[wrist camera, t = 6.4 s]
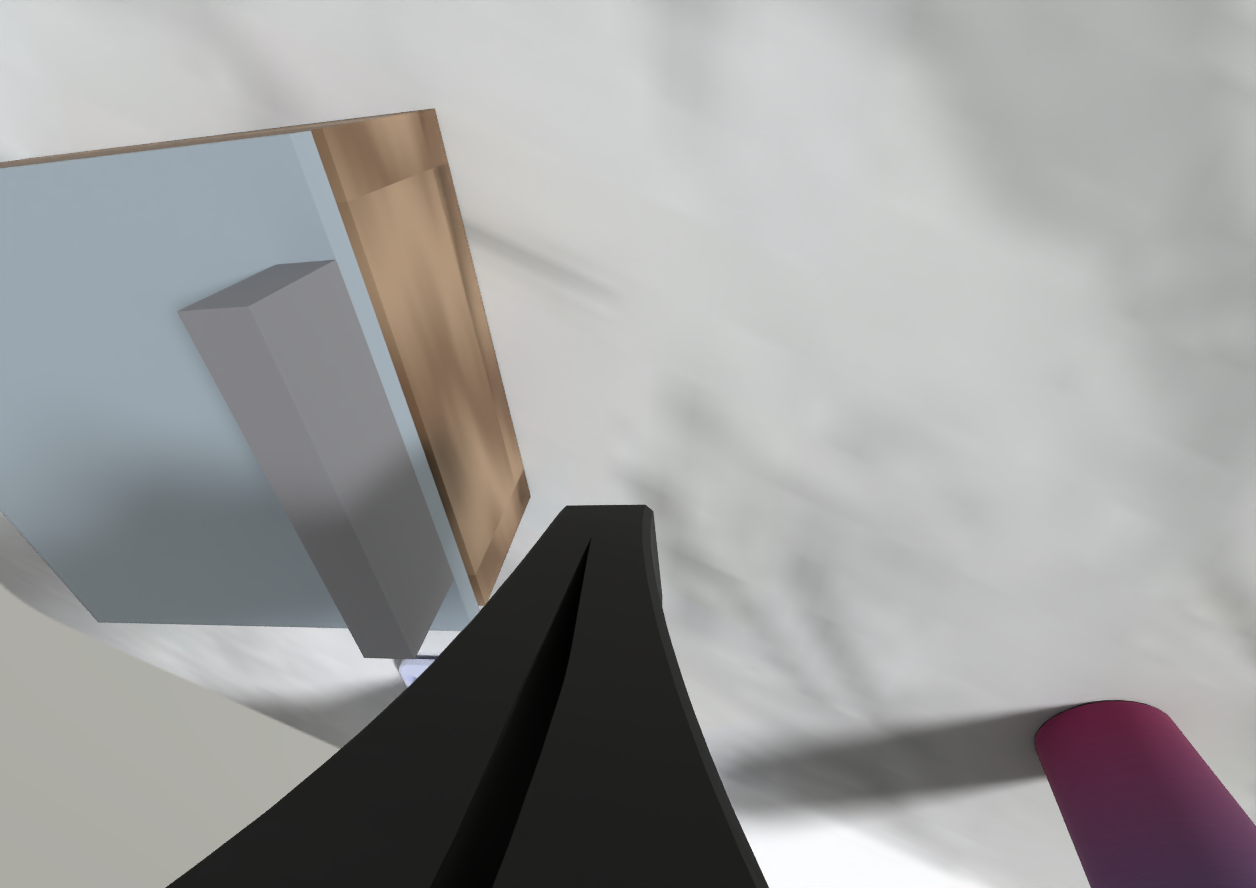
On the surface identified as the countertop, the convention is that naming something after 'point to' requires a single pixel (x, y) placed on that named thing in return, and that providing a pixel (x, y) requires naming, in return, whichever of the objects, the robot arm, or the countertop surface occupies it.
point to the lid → (212, 401)
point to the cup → (1143, 801)
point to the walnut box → (420, 314)
